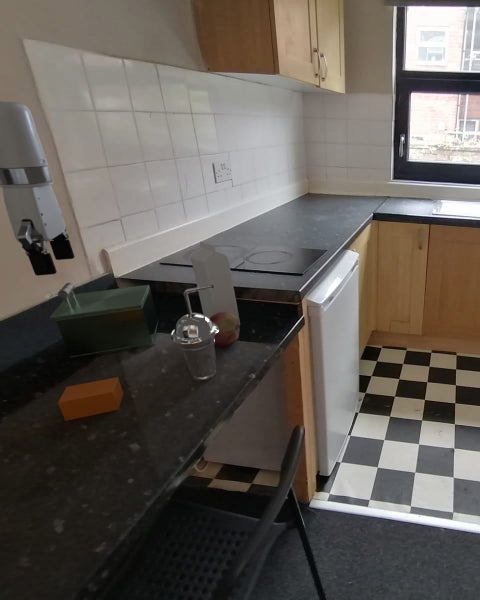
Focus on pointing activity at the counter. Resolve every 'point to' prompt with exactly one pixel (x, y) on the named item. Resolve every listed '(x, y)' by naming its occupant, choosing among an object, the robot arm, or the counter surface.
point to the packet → (91, 398)
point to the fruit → (226, 329)
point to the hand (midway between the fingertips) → (56, 266)
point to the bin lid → (98, 301)
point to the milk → (214, 281)
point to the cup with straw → (197, 340)
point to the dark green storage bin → (110, 331)
